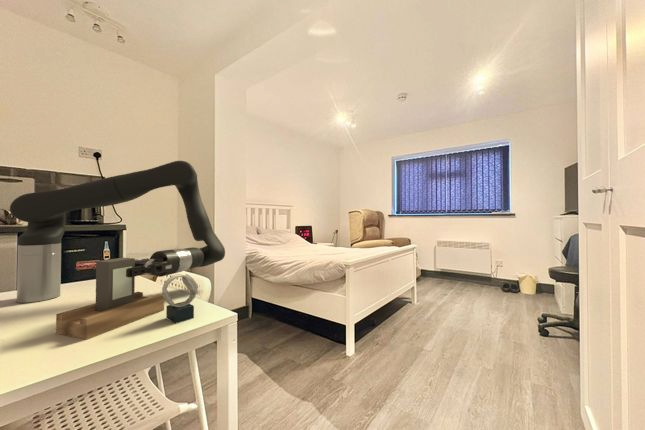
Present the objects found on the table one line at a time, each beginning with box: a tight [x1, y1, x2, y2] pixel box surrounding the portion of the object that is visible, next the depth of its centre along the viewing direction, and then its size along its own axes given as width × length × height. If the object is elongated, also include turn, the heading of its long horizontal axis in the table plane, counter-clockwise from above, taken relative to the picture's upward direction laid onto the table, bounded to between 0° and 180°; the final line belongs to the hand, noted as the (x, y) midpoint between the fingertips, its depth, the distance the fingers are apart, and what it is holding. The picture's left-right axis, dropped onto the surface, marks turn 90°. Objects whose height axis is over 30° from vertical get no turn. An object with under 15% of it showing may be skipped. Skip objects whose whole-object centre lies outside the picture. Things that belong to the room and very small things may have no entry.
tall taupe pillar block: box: [95, 257, 136, 312], centre depth 63 cm, size 5×6×12 cm
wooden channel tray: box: [55, 291, 165, 340], centre depth 63 cm, size 10×18×4 cm, turn 163°
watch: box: [161, 273, 199, 325], centre depth 64 cm, size 6×8×11 cm
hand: (114, 272), depth 62 cm, fingers open, 8 cm apart
